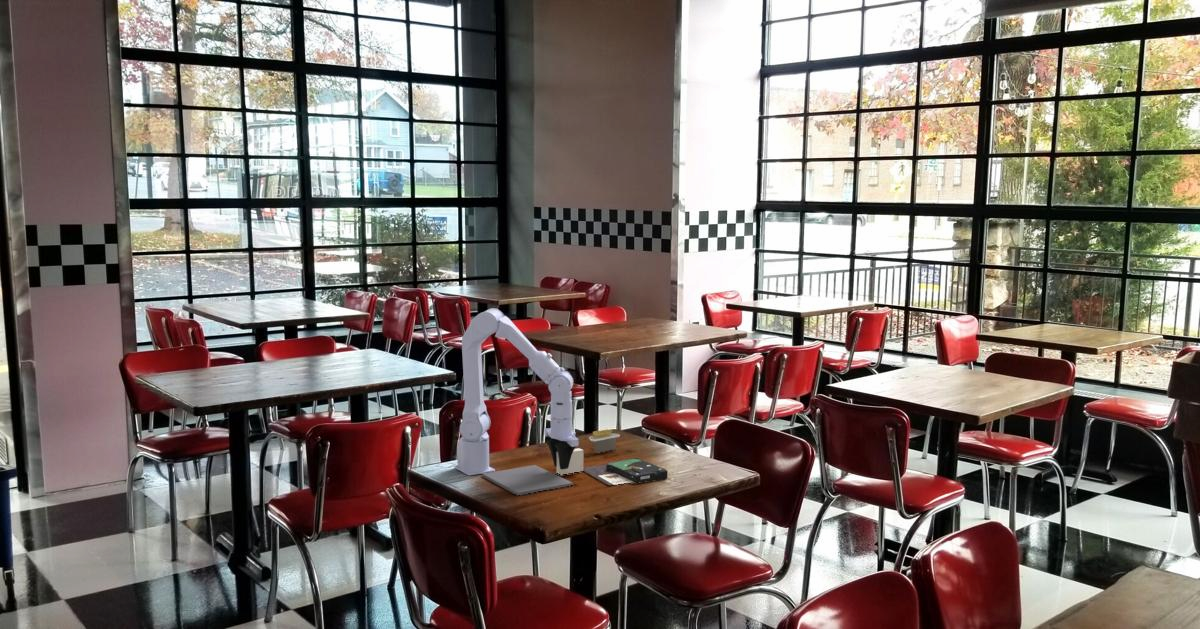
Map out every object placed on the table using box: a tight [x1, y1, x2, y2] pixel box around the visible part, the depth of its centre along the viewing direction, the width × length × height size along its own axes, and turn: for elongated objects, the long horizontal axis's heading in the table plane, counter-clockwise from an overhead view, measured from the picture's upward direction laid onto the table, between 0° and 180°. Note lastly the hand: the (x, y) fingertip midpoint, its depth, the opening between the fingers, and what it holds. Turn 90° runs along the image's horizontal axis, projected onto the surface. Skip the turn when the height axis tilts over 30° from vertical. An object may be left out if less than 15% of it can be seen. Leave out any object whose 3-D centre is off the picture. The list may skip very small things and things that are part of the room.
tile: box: [556, 447, 585, 476], centre depth 261 cm, size 2×7×6 cm, turn 122°
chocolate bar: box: [583, 463, 633, 487], centre depth 258 cm, size 9×1×18 cm
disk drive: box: [606, 457, 669, 484], centre depth 259 cm, size 10×3×15 cm
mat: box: [482, 464, 574, 497], centre depth 253 cm, size 20×16×1 cm
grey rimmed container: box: [588, 428, 621, 454], centre depth 283 cm, size 12×18×7 cm, turn 129°
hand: (561, 467), depth 259 cm, fingers closed on tile, 2 cm apart
